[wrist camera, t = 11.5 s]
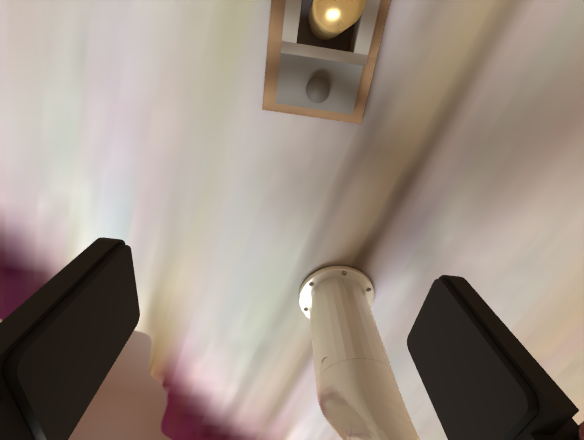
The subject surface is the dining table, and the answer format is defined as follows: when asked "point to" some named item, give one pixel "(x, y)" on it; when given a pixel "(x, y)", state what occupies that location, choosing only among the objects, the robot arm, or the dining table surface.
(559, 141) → the dining table surface
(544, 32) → the dining table surface
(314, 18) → the pin
